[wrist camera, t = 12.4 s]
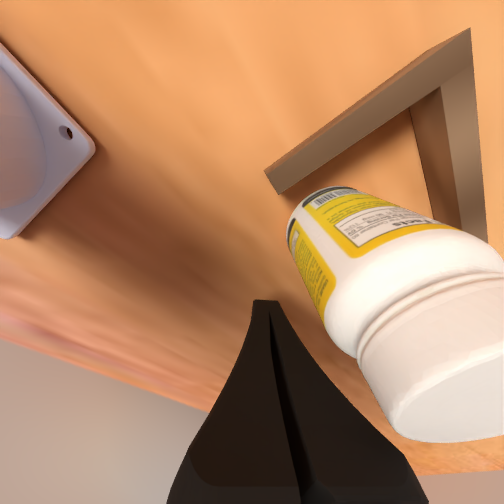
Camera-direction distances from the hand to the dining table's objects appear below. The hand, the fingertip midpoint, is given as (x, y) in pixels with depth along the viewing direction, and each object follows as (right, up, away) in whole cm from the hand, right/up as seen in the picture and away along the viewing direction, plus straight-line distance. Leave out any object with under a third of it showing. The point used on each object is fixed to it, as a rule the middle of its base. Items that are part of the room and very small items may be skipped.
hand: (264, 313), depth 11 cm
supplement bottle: (+4, +5, 0) cm, 6 cm away
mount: (+7, +4, +1) cm, 8 cm away
